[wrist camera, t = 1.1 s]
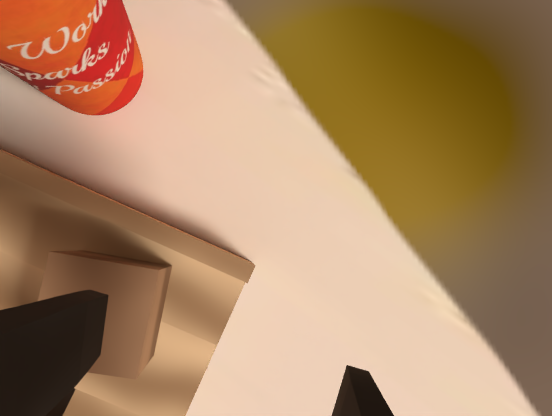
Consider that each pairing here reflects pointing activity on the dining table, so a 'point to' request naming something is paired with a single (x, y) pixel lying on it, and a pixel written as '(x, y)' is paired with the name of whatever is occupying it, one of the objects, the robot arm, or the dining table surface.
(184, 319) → the trap box
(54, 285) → the block
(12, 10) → the coffee cup
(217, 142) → the dining table surface
